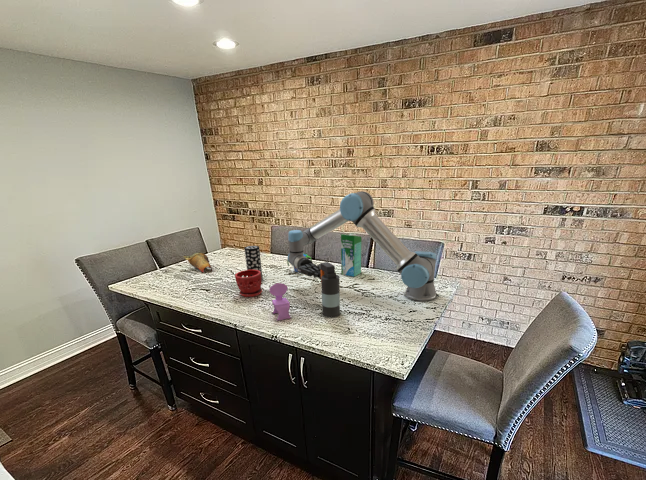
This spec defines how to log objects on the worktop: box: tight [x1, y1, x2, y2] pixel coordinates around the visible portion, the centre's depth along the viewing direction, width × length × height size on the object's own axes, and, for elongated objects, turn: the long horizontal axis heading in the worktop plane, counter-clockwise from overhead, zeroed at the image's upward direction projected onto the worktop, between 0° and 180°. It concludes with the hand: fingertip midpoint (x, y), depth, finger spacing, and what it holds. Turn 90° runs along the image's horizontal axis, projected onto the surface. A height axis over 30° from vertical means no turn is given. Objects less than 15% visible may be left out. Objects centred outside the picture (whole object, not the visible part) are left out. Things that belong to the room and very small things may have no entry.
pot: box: [182, 251, 213, 273], centre depth 219 cm, size 17×11×18 cm
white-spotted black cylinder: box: [243, 245, 264, 282], centre depth 195 cm, size 8×8×20 cm
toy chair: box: [268, 282, 292, 321], centre depth 151 cm, size 8×9×15 cm
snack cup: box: [286, 253, 313, 273], centre depth 213 cm, size 16×10×10 cm
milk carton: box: [340, 232, 362, 277], centre depth 204 cm, size 9×9×25 cm
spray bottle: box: [320, 261, 341, 318], centre depth 152 cm, size 11×8×23 cm
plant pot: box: [234, 269, 263, 298], centre depth 177 cm, size 13×13×12 cm
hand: (323, 277), depth 155 cm, fingers closed
